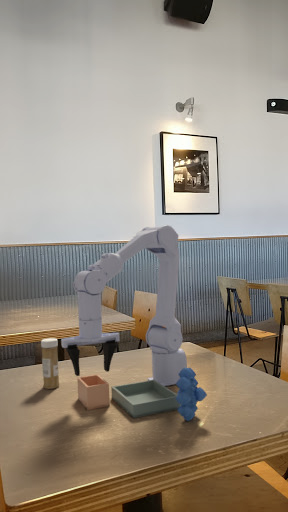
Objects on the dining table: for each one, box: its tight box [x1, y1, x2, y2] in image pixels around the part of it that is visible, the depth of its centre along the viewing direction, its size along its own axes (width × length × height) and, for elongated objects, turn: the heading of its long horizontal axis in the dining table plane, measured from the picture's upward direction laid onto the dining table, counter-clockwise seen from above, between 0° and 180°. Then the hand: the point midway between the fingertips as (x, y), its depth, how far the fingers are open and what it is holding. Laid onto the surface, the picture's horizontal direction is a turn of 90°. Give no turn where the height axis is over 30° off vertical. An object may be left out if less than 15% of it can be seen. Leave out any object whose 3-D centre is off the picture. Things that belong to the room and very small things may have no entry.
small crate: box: [76, 373, 111, 411], centre depth 111 cm, size 6×9×6 cm, turn 23°
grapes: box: [175, 367, 208, 422], centre depth 97 cm, size 12×7×12 cm, turn 162°
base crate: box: [111, 380, 180, 419], centre depth 109 cm, size 12×15×3 cm
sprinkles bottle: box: [40, 337, 60, 390], centre depth 125 cm, size 5×5×14 cm
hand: (92, 372), depth 111 cm, fingers open, 7 cm apart
